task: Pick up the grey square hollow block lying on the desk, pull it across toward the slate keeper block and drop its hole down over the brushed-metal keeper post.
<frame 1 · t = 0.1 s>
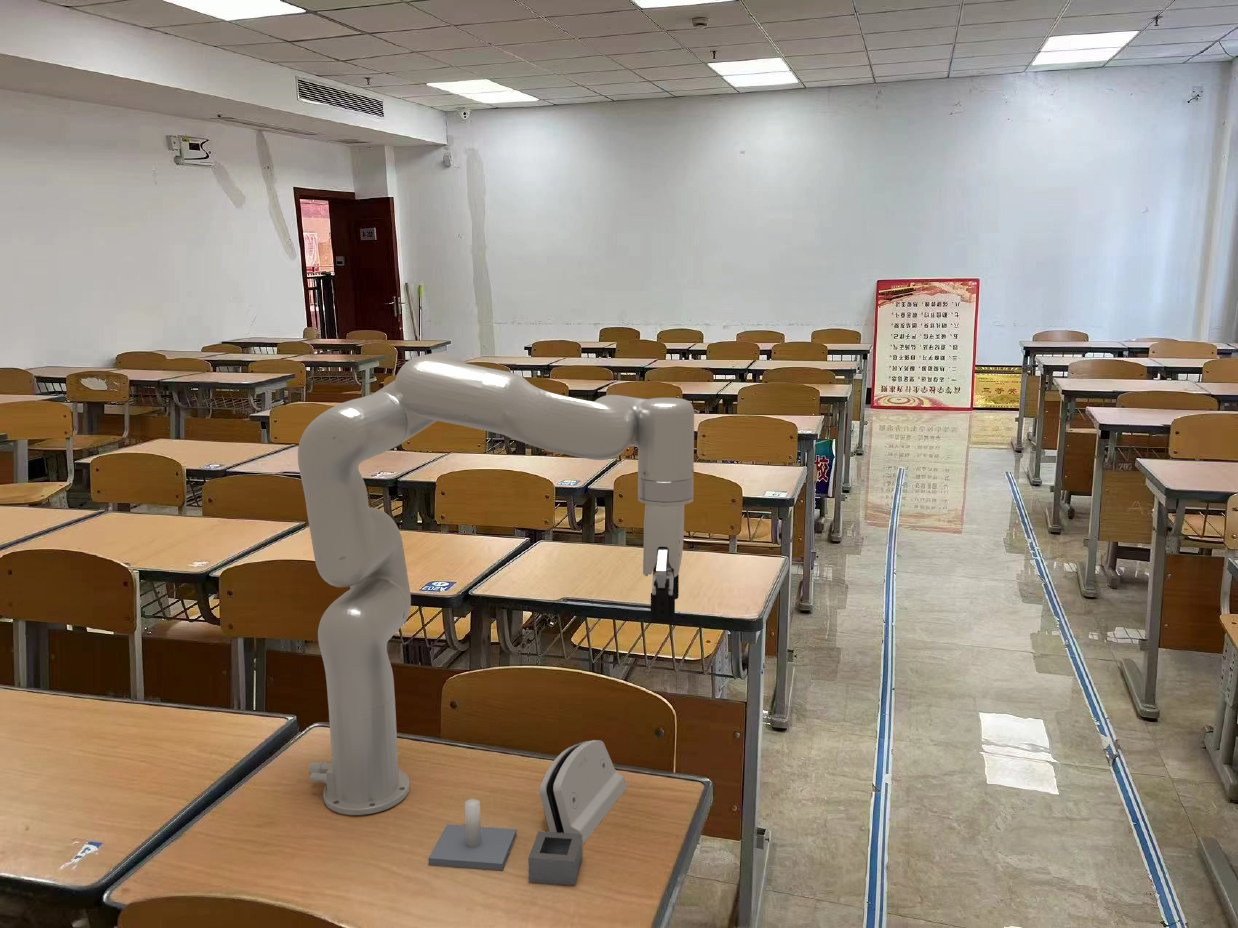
hand: (665, 609, 130), 31 cm above the table, tool pointing down, fingers open, 9 cm apart
grey slotted holder: (582, 810, 137), on the table
grey square hollow block: (556, 869, 123), on the table
keeper: (473, 849, 127), on the table
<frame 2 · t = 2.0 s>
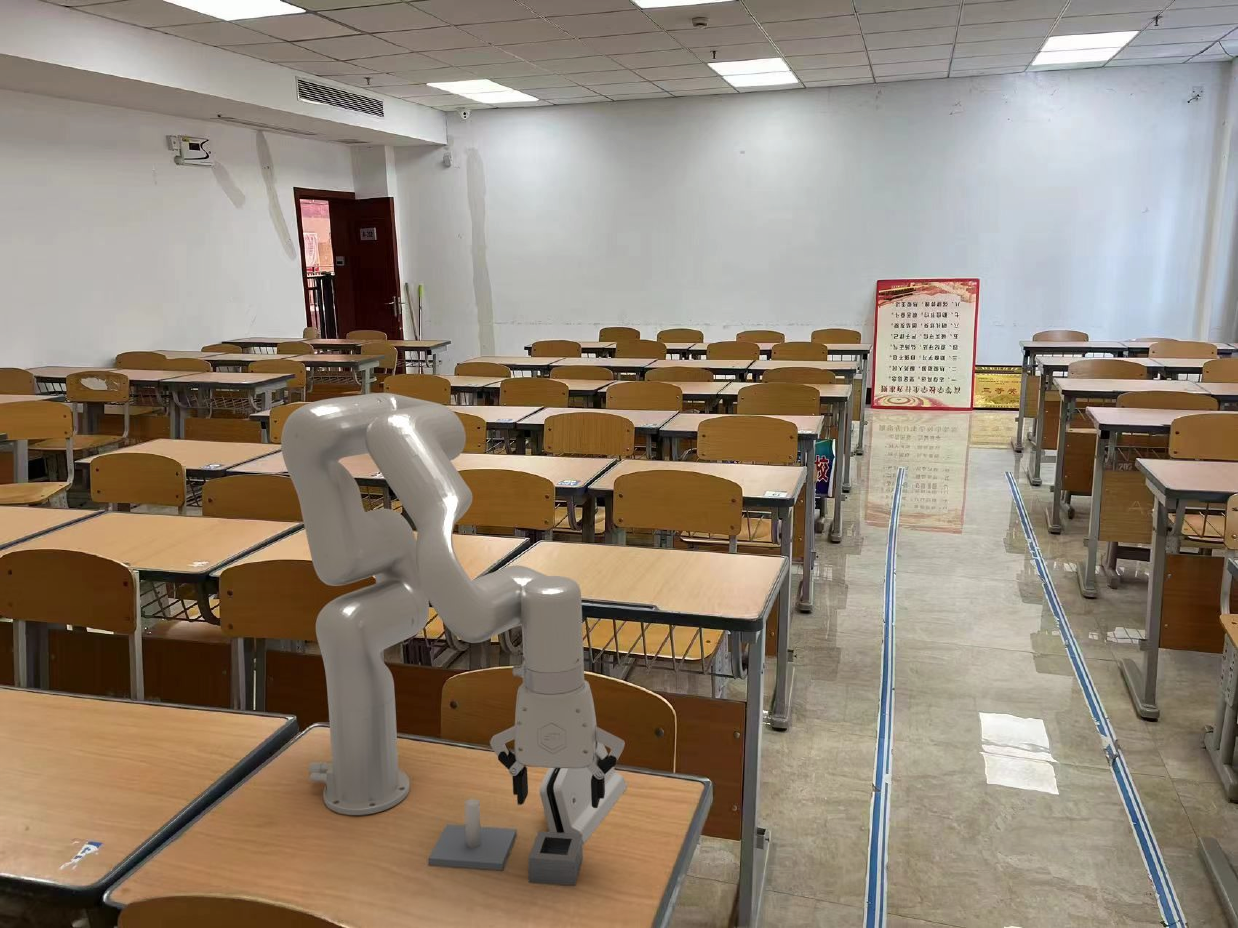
hand: (559, 800, 120), 10 cm above the table, tool pointing down, fingers open, 9 cm apart
nothing on the table moved.
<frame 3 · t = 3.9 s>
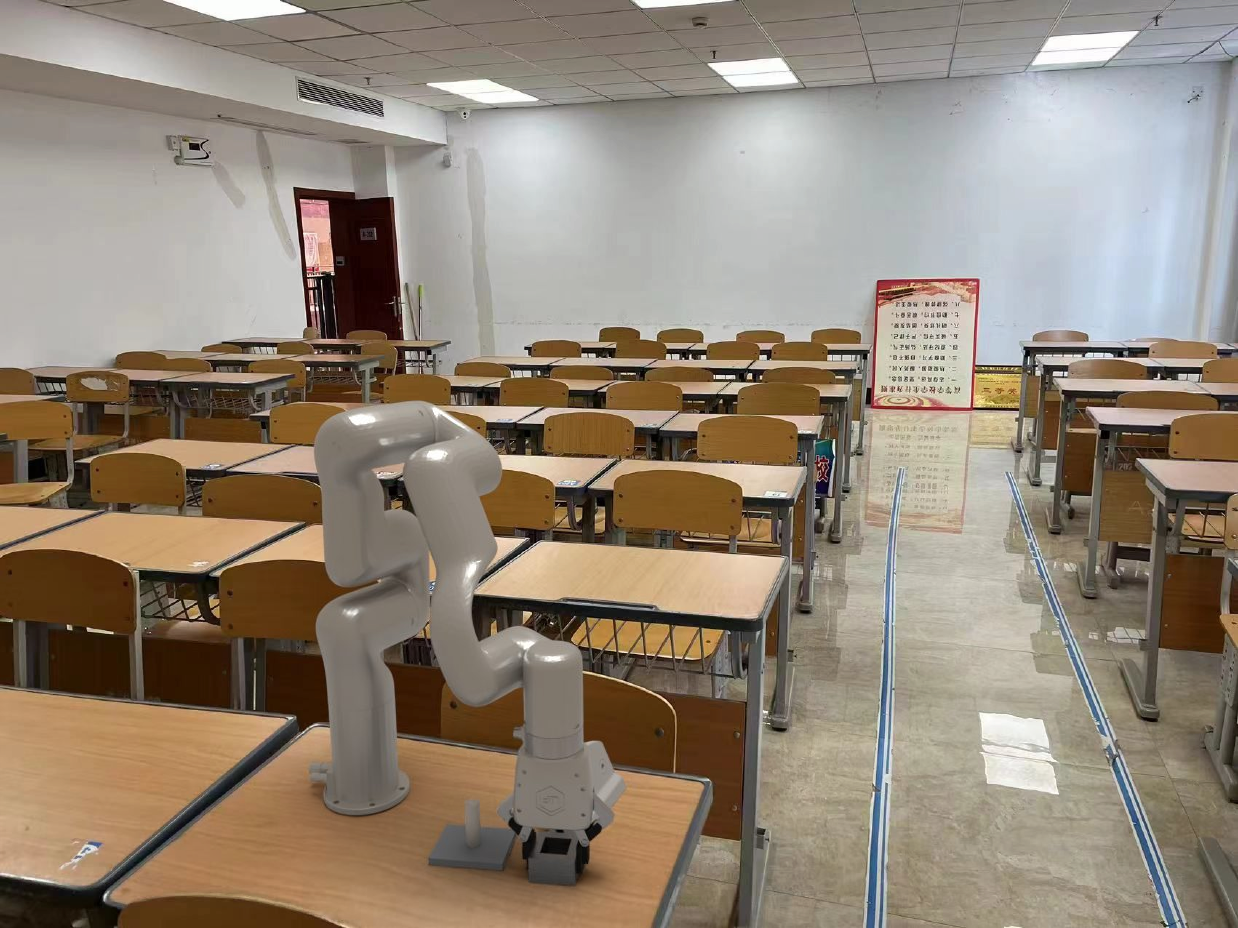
hand: (556, 864, 122), 1 cm above the table, tool pointing down, fingers closed on grey square hollow block, 6 cm apart
grey square hollow block: (556, 869, 123), on the table, touching gripper
everything else where it was.
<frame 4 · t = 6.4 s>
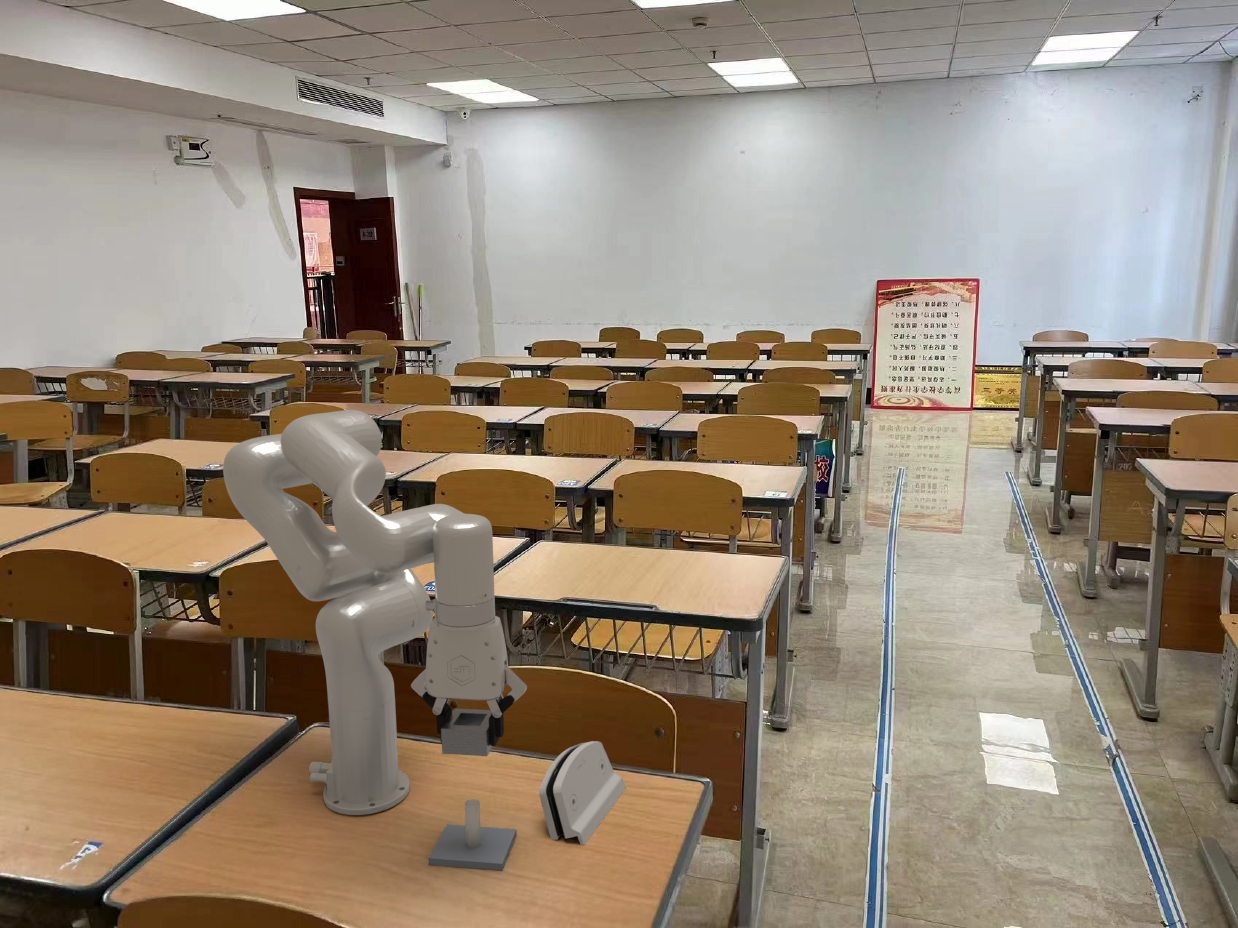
hand: (470, 738, 124), 16 cm above the table, tool pointing down, fingers closed on grey square hollow block, 6 cm apart
grey square hollow block: (471, 743, 124), point 16 cm above the table, touching gripper
everything else where it was.
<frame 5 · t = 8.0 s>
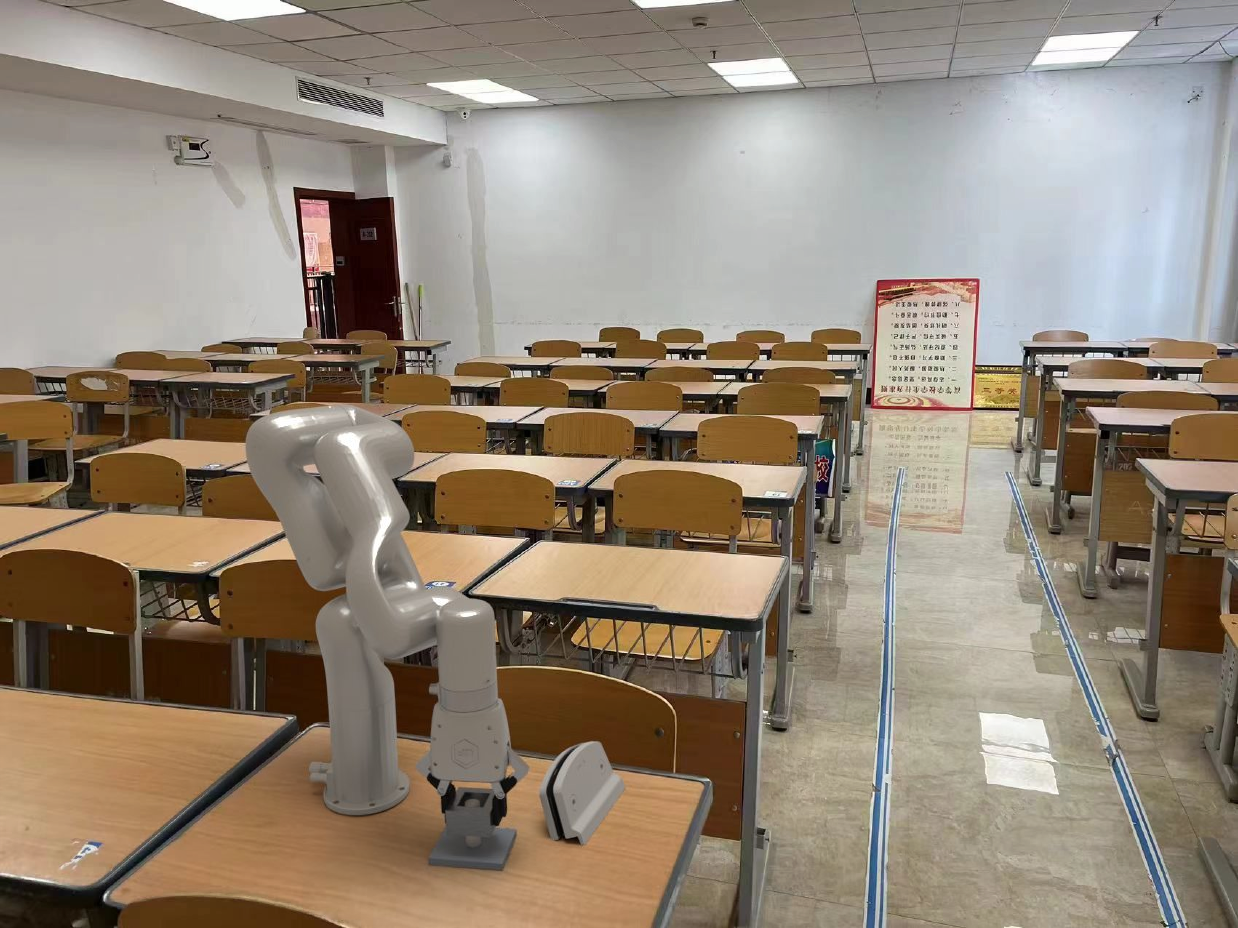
hand: (474, 818, 126), 5 cm above the table, tool pointing down, fingers closed on grey square hollow block, 6 cm apart
grey square hollow block: (474, 823, 126), point 4 cm above the table, touching gripper
everything else where it was.
when the fingers open (3 cm above the table, at t = 9.1 s): grey square hollow block drops 2 cm, resting on keeper.
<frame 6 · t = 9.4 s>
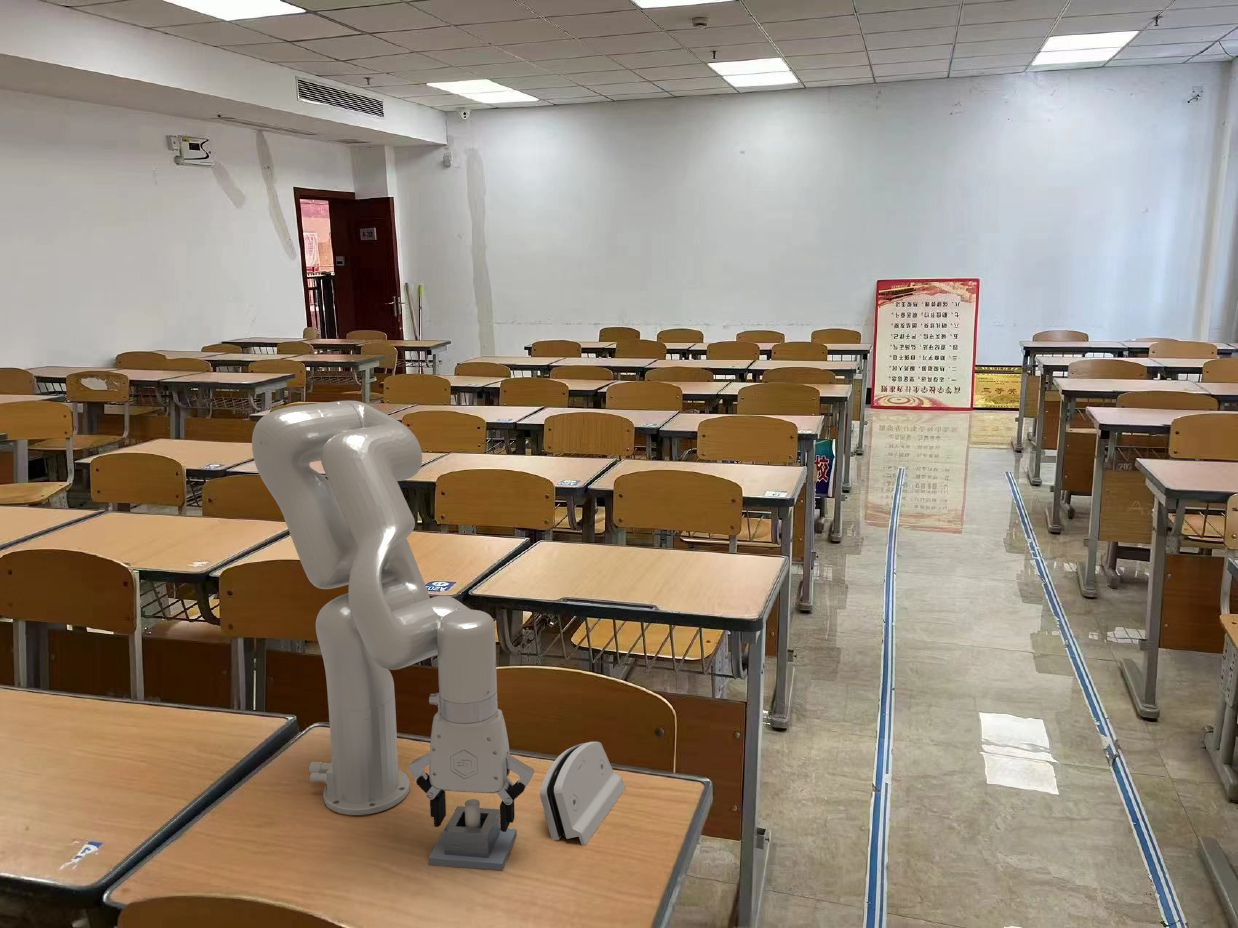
hand: (472, 823, 126), 4 cm above the table, tool pointing down, fingers open, 8 cm apart
grey square hollow block: (473, 843, 127), point 1 cm above the table, touching keeper
everything else where it was.
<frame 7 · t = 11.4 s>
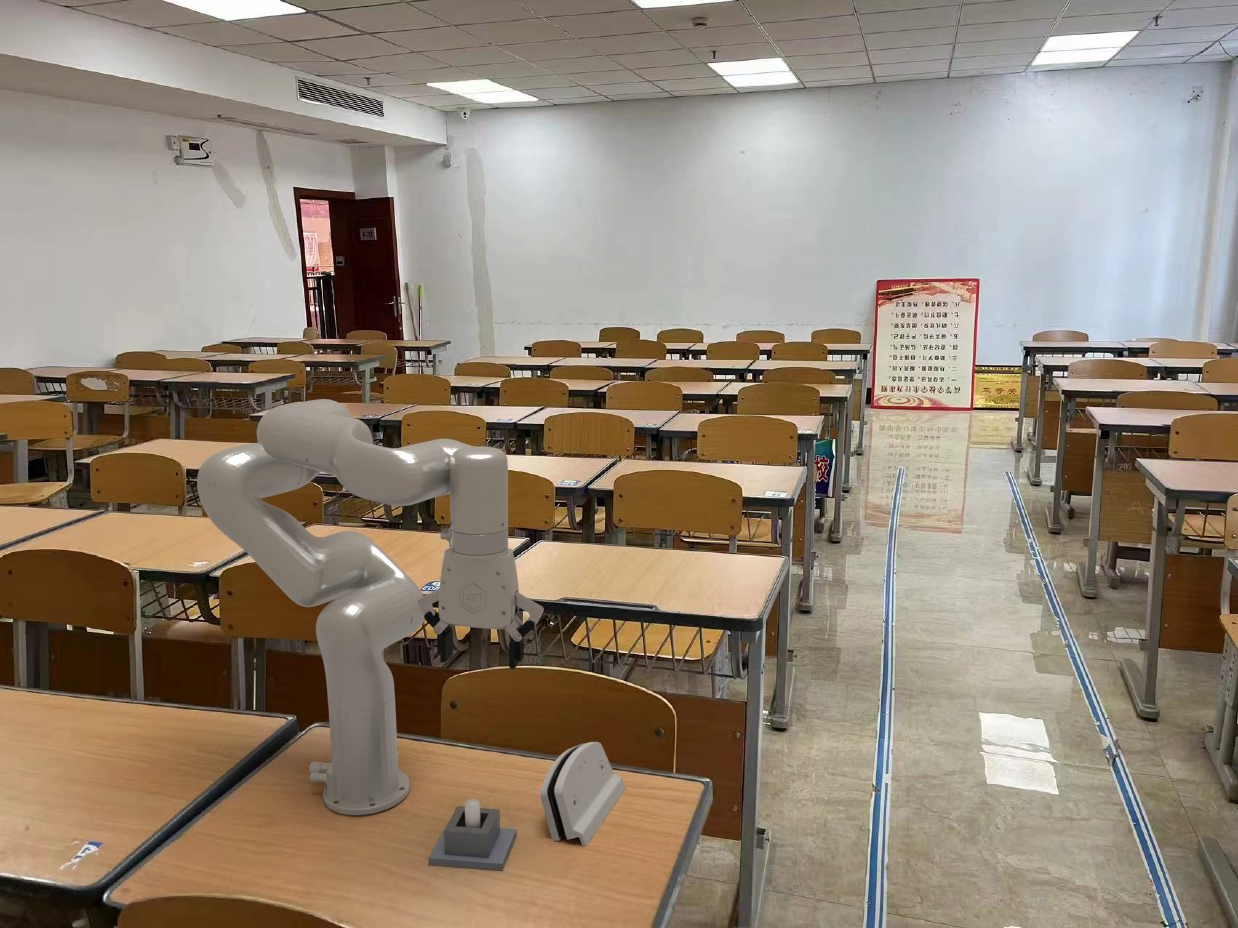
hand: (480, 661, 127), 25 cm above the table, tool pointing down, fingers open, 9 cm apart
nothing on the table moved.
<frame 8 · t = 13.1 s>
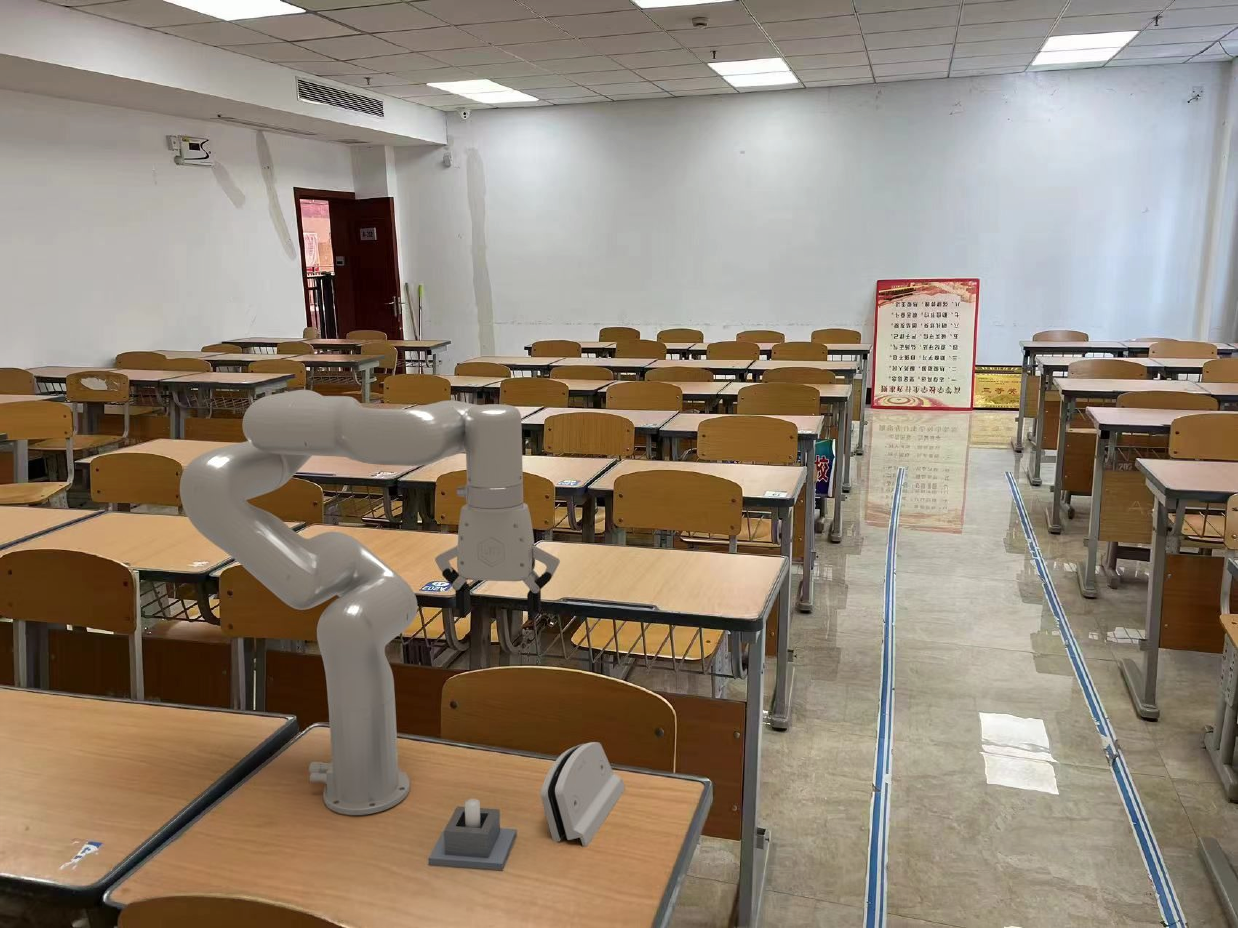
hand: (498, 615, 130), 30 cm above the table, tool pointing down, fingers open, 9 cm apart
nothing on the table moved.
at the end: grey square hollow block 0.1 cm from the keeper (horizontally); grey square hollow block point 1.0 cm above the table; the gripper is holding nothing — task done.
